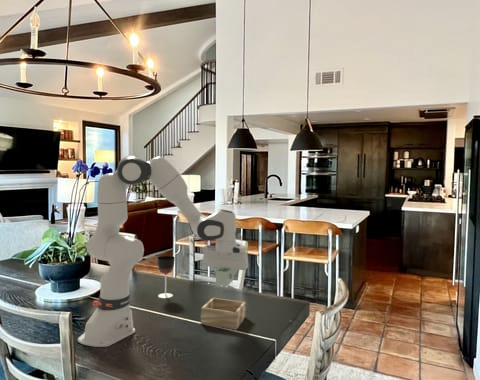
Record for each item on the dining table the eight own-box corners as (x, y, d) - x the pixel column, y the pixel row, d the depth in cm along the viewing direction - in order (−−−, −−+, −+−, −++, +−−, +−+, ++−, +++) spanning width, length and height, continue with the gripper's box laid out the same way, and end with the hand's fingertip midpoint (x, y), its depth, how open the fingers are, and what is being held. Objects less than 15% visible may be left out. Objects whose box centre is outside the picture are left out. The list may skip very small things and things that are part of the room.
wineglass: (172, 298, 191) (172, 259, 190) (155, 297, 191) (155, 259, 190) (175, 293, 199) (175, 256, 197) (159, 292, 199) (159, 255, 198)
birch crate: (236, 329, 156) (236, 313, 155) (200, 324, 160) (201, 308, 160) (245, 317, 169) (245, 301, 169) (212, 312, 173) (212, 297, 173)
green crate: (226, 286, 159) (227, 272, 158) (215, 284, 160) (216, 271, 160) (233, 280, 167) (233, 267, 167) (222, 279, 169) (222, 266, 168)
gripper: (200, 246, 163) (200, 277, 163) (245, 250, 157) (244, 282, 158) (206, 243, 169) (205, 273, 169) (249, 247, 163) (248, 278, 164)
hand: (224, 277), depth 163 cm, fingers closed on green crate, 5 cm apart
